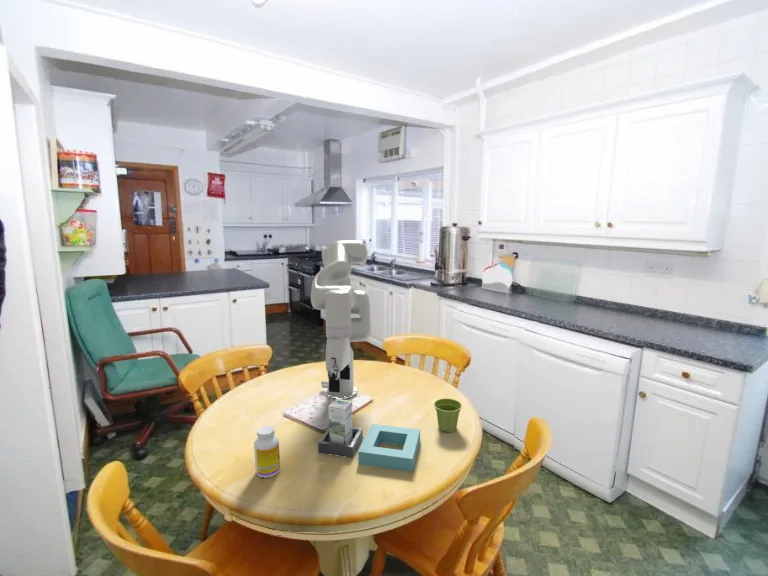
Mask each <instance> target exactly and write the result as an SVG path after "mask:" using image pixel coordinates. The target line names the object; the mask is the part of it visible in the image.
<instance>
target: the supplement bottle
mask: <svg viewBox="0 0 768 576" xmlns="http://www.w3.org/2000/svg"><path fill="white" fill-rule="evenodd" d="M256 436H257V437H256V438H255V440H254V442H253V449H254V465H255V474H256V476H257V475H258V476H257V477H259V476H260V477H259V478H261V477H264V478H263V479H267V478H266V477H270V478H272V477H271V476H273V477H274V475H275V474H276V475H278V473H280V470H281V462H280V461H281V460H280V458H281V457H280V443H279V437H278V436H277V435H276V433H275V428H274V426H272V425H263V426H261V427H259V428H257V430H256ZM276 475H275V476H276Z"/></svg>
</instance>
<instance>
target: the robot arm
mask: <svg viewBox="0 0 768 576" xmlns="http://www.w3.org/2000/svg"><path fill="white" fill-rule="evenodd" d="M321 258H322V263H323V267H324V268H322V269H321V270H319V271H318V272H317V273H316V275H315V276H314V277H313V279H312V284H311V289H310V290H311V291H310V303H311V306H312V307H313V308H314V309H315V310H319V311H324V310H325V334H326V335H325V337H326V338H327V339H326V347H325V370H326V371H327V377H328V378H327V379H328V381H327V380H322V381H321V383H320V384H321V388H322V389H323V388H324V389H326V395H327V394H328V395H330V396H332V397H338V398H345V397H350V396H353V395H355V394H356V393H357V394H358V392H359V391H358V388H357V386H355V383H354V379H355V378H354V377H355V376H354V350H353V349H352V346H351V342H367V341H368V340H369V339H370V338H371V334H372V333H371V331H372V329H371V326H372V325H371V301H370V297H369V293H367V291H364V290H356V289H355V288H354V287H353V286H352V282H351V277H350V275H351V273H352V269H356V268H357V269H358V268H360V269H361V268H363V267H365V266H366V264H367V261H368V248H367V245H366V244H365V242H364V241H361V240H335V241H332V242H331V243H330V244H328V246H327V247H325V248H324V249H323V250H322V253H321ZM352 315H357V316H358V317H352ZM357 394H356V395H357ZM328 395H327V396H328ZM356 395H355V396H356ZM344 396H345V397H344Z"/></svg>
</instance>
